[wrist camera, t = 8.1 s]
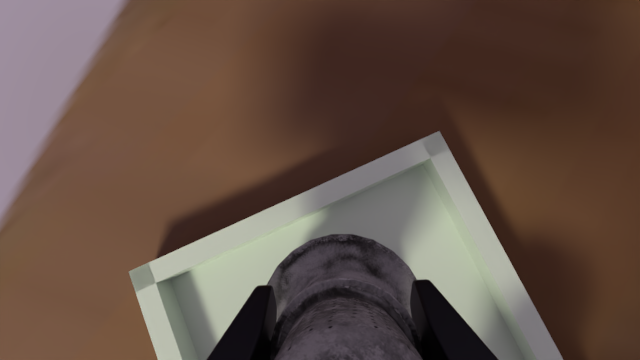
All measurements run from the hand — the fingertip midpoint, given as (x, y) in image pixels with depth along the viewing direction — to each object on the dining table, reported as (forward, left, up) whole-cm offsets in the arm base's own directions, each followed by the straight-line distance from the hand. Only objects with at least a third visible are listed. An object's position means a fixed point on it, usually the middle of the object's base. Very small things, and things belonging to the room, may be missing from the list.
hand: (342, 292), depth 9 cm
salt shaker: (-1, +1, -7) cm, 7 cm away
